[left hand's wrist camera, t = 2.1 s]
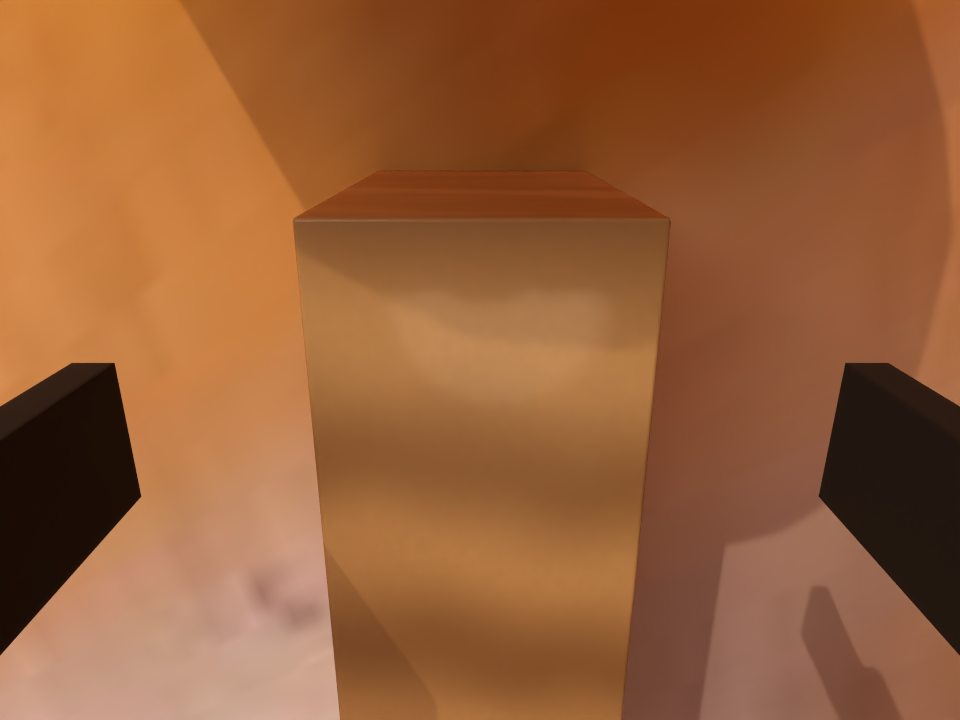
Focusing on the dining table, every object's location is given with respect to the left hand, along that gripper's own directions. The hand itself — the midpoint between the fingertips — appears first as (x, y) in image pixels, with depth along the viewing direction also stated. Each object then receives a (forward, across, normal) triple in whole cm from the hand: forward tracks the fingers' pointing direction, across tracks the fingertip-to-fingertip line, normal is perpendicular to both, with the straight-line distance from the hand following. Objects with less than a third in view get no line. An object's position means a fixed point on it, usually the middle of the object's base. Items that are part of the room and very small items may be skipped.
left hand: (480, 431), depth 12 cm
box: (+13, 0, -7) cm, 15 cm away
